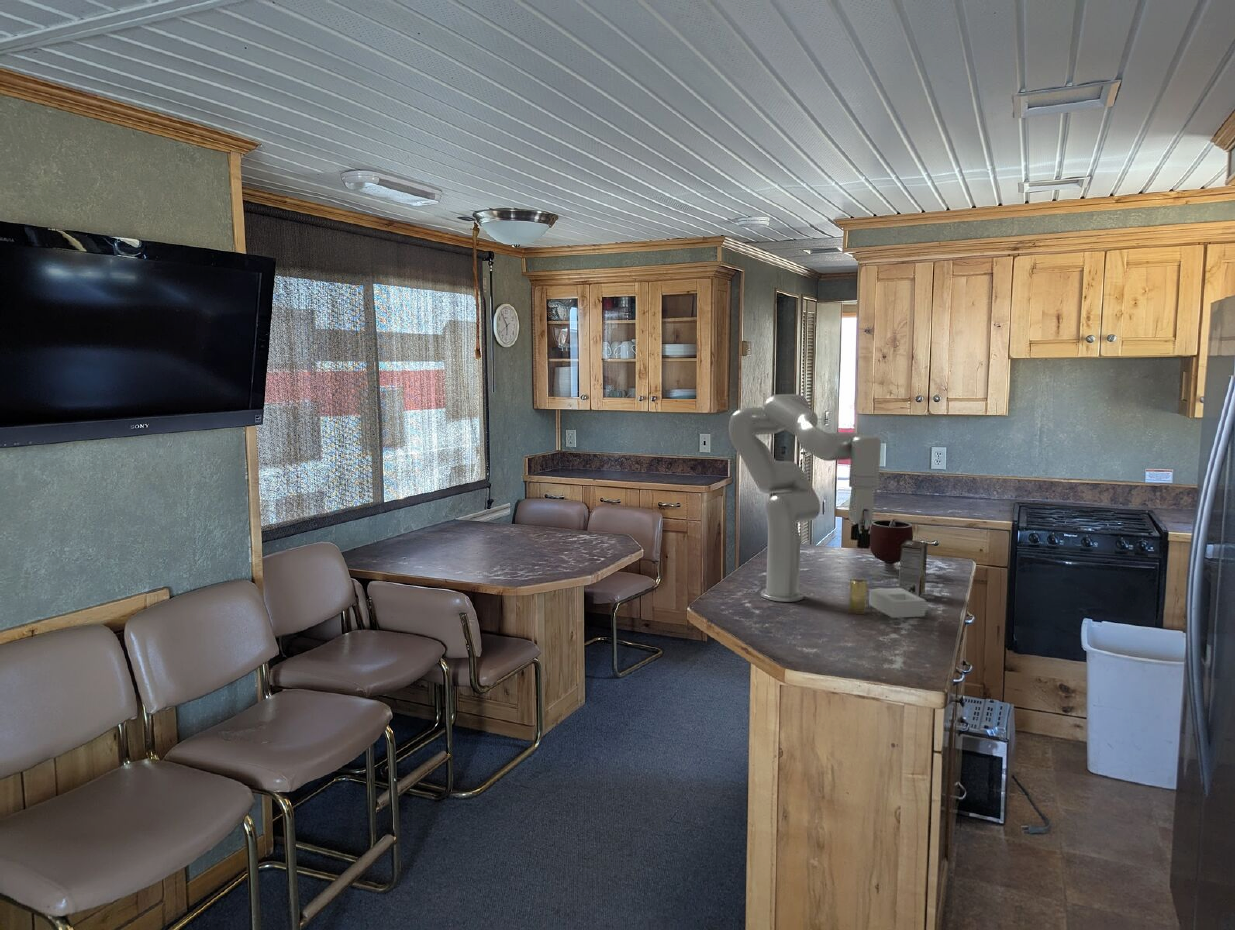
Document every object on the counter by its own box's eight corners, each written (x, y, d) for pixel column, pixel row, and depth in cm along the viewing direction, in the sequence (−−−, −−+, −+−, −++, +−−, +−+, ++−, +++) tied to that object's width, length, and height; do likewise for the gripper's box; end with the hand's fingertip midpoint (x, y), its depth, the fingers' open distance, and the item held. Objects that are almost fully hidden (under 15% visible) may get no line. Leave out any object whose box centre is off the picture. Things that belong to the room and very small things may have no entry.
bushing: (846, 609, 237) (847, 578, 236) (860, 609, 238) (861, 578, 237) (853, 614, 233) (855, 582, 232) (867, 613, 234) (869, 582, 232)
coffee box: (903, 590, 259) (906, 539, 257) (925, 593, 255) (928, 542, 253) (897, 597, 251) (900, 544, 249) (919, 600, 248) (922, 547, 246)
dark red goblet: (867, 567, 288) (870, 510, 286) (909, 570, 284) (912, 512, 282) (868, 577, 273) (871, 518, 271) (912, 581, 270) (916, 520, 267)
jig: (868, 604, 242) (869, 589, 242) (899, 602, 245) (900, 588, 244) (892, 617, 230) (893, 602, 229) (924, 616, 232) (925, 600, 231)
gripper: (844, 476, 232) (840, 536, 234) (855, 486, 215) (851, 550, 217) (871, 477, 231) (867, 537, 233) (884, 487, 214) (880, 552, 216)
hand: (859, 543), depth 225 cm, fingers open, 9 cm apart
